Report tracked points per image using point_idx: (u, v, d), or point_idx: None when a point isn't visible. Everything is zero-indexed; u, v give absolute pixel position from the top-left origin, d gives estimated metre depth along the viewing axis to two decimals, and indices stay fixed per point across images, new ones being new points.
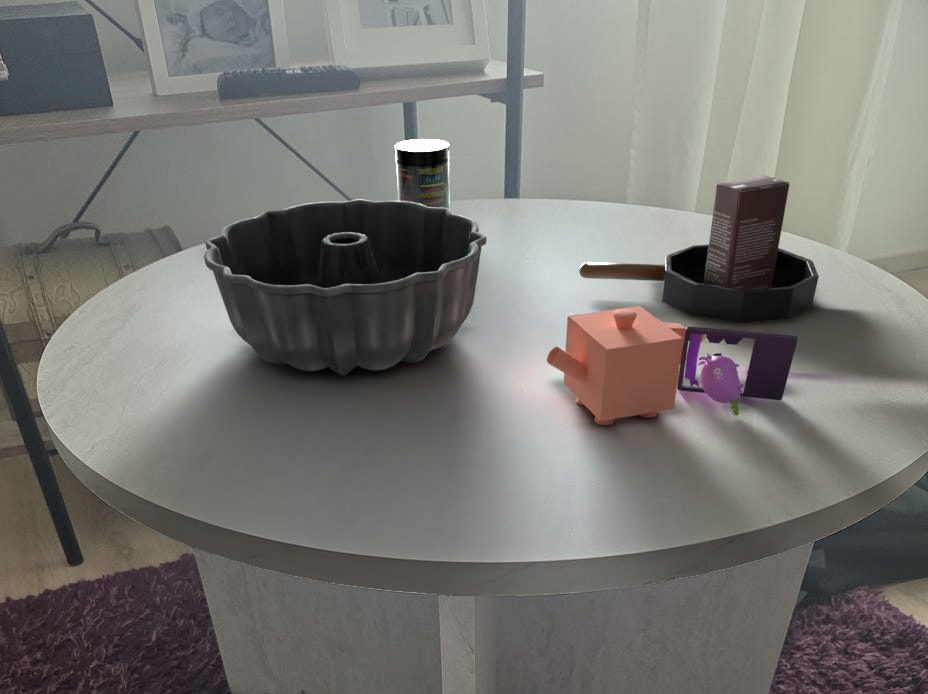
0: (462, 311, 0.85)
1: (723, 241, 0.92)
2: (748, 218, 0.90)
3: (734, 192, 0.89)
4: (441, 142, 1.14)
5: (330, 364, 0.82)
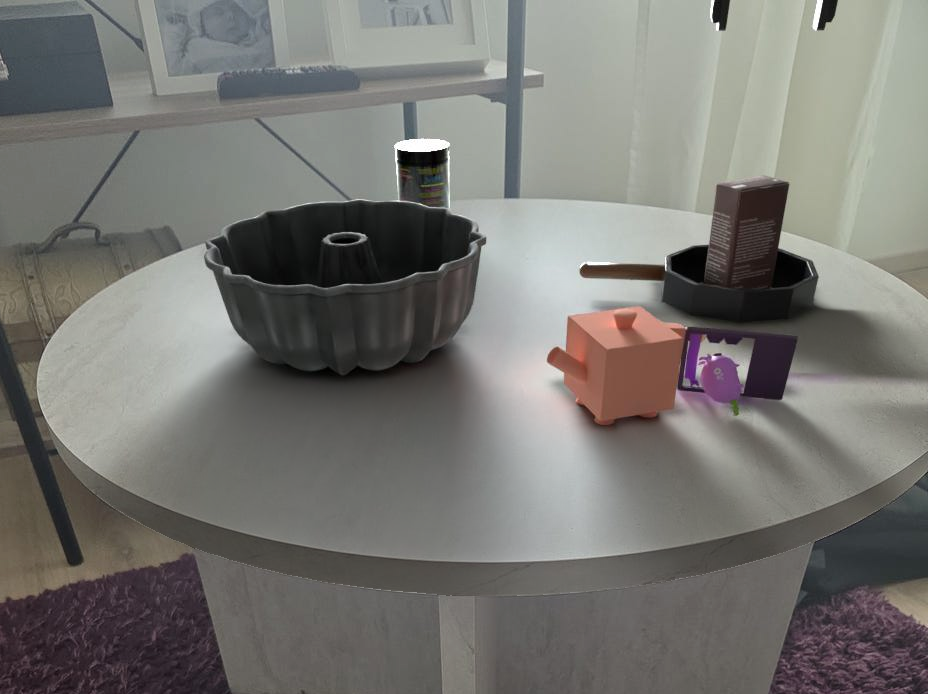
0: (462, 311, 0.85)
1: (723, 241, 0.92)
2: (748, 218, 0.90)
3: (734, 192, 0.89)
4: (441, 142, 1.14)
5: (330, 364, 0.82)
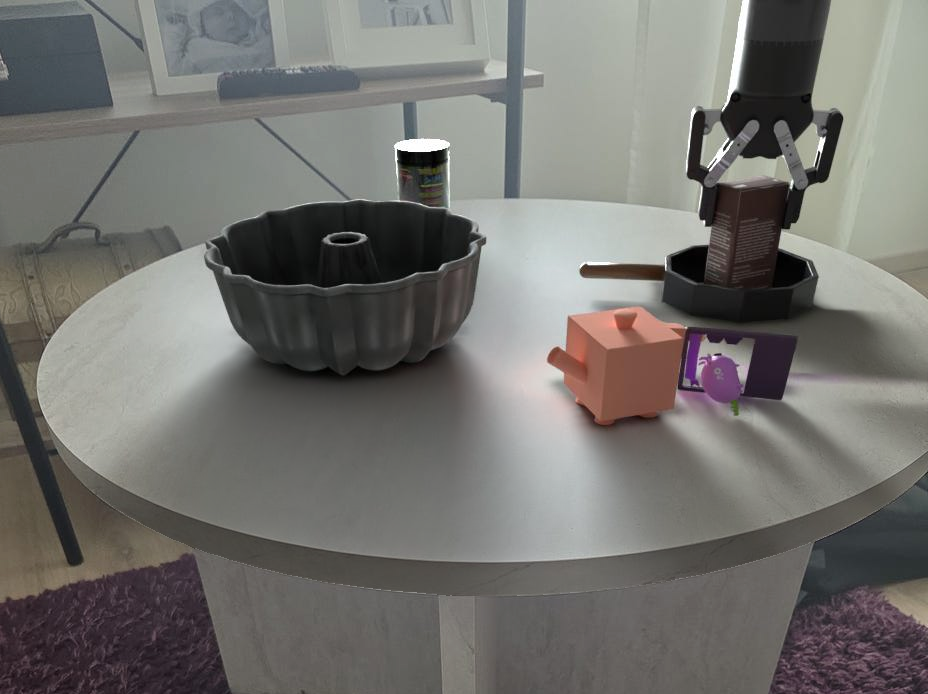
0: (462, 311, 0.85)
1: (723, 241, 0.92)
2: (749, 218, 0.90)
3: (734, 192, 0.89)
4: (441, 142, 1.14)
5: (330, 364, 0.82)
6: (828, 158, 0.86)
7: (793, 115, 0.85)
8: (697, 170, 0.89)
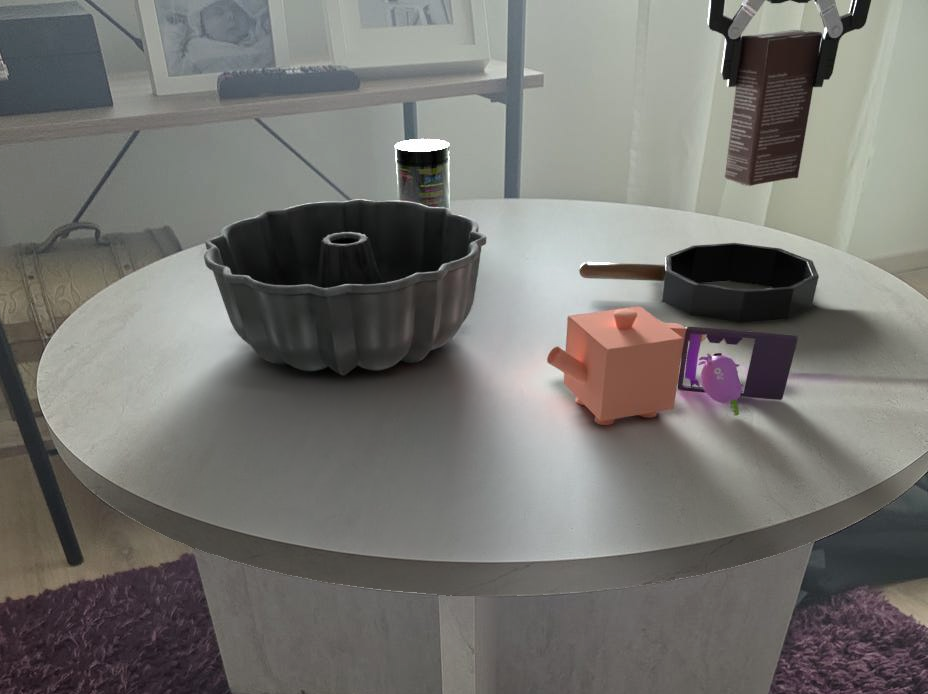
0: (462, 311, 0.85)
1: (749, 102, 0.84)
2: (777, 73, 0.82)
3: (761, 43, 0.81)
4: (441, 142, 1.14)
5: (330, 364, 0.82)
6: None
7: None
8: (720, 19, 0.81)
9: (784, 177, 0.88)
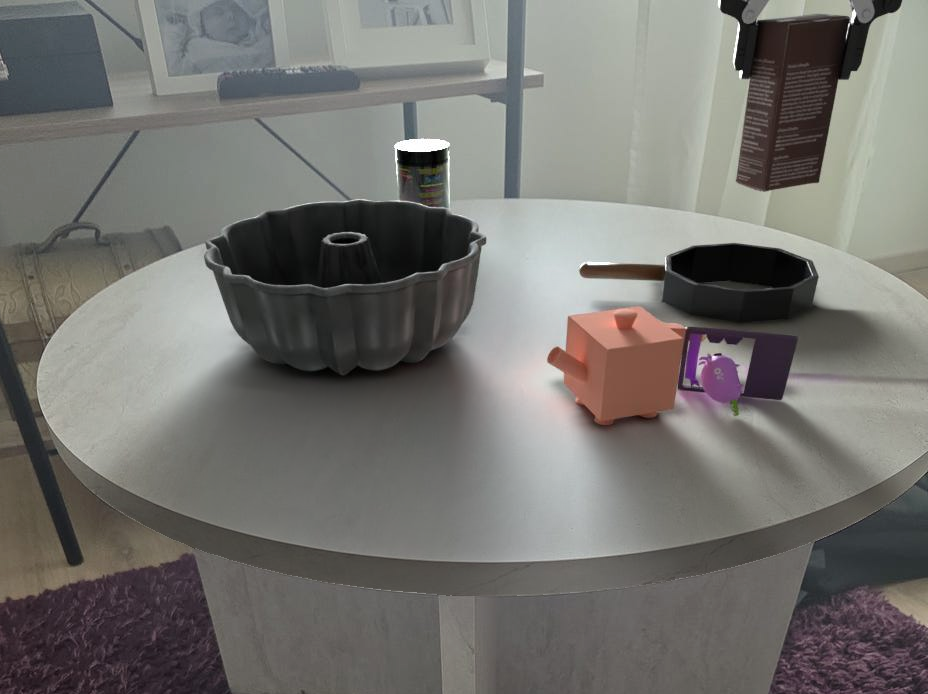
0: (462, 311, 0.85)
1: (765, 95, 0.74)
2: (798, 62, 0.71)
3: (780, 27, 0.70)
4: (441, 142, 1.14)
5: (330, 364, 0.82)
6: None
7: None
8: (733, 0, 0.71)
9: (803, 182, 0.77)
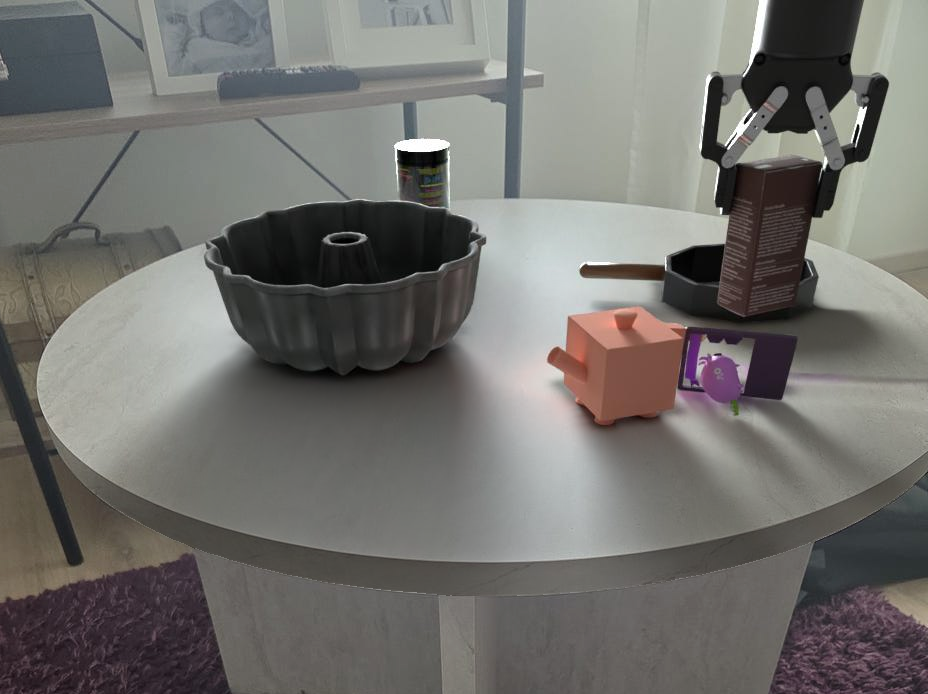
0: (462, 311, 0.85)
1: (744, 231, 0.78)
2: (774, 204, 0.76)
3: (757, 174, 0.75)
4: (441, 142, 1.14)
5: (330, 364, 0.82)
6: (869, 132, 0.73)
7: (828, 80, 0.71)
8: (713, 148, 0.75)
9: (781, 306, 0.82)
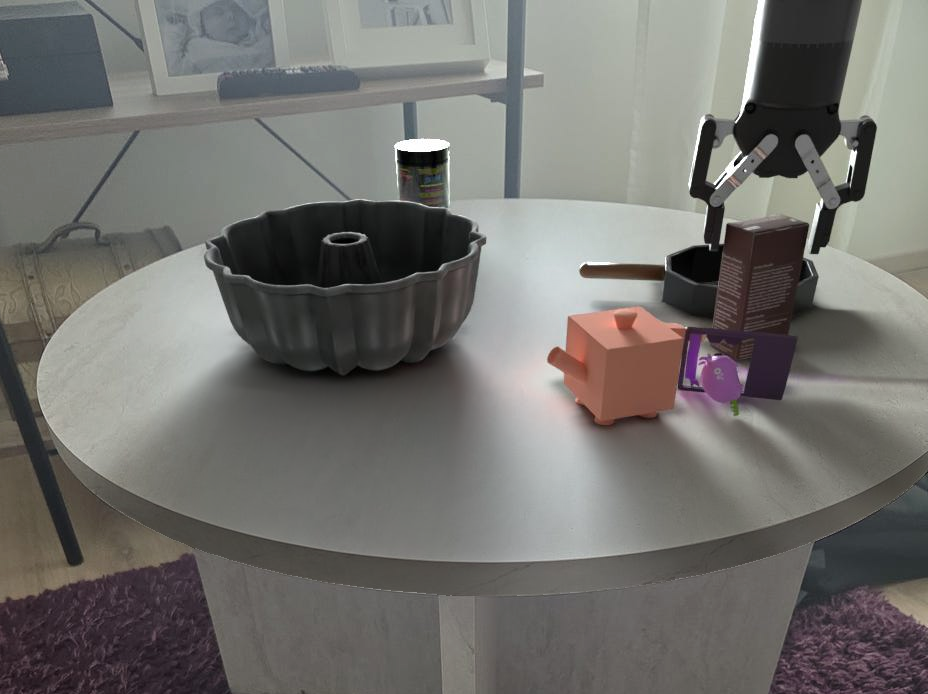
0: (462, 311, 0.85)
1: (734, 288, 0.81)
2: (763, 263, 0.79)
3: (746, 235, 0.78)
4: (441, 142, 1.14)
5: (330, 364, 0.82)
6: (862, 173, 0.75)
7: (817, 128, 0.74)
8: (702, 187, 0.78)
9: None
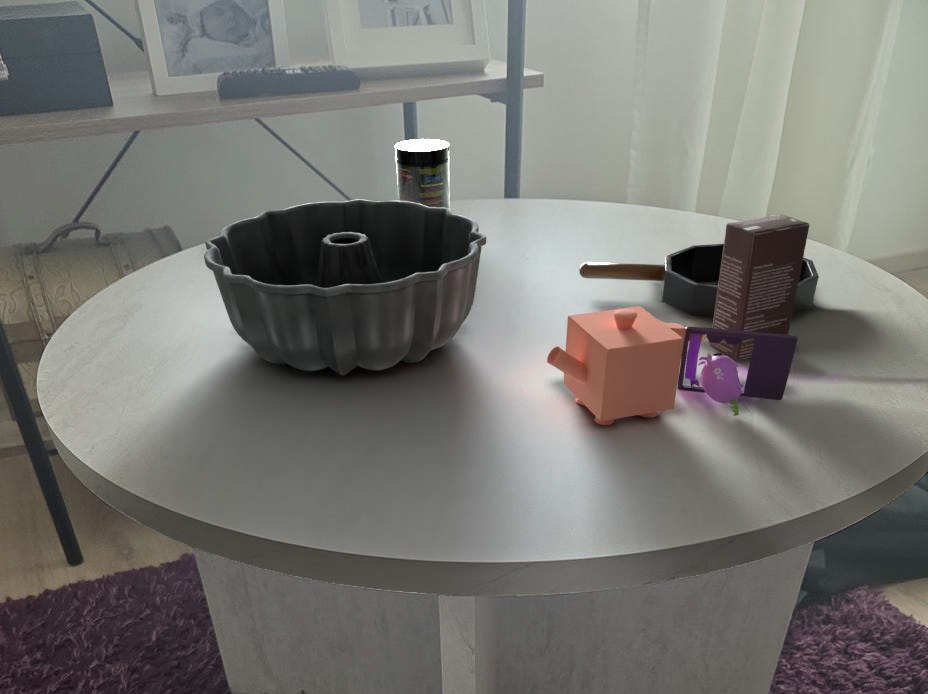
0: (462, 311, 0.85)
1: (734, 288, 0.81)
2: (763, 263, 0.79)
3: (746, 235, 0.78)
4: (441, 142, 1.14)
5: (330, 364, 0.82)
6: None
7: None
8: None
9: None
